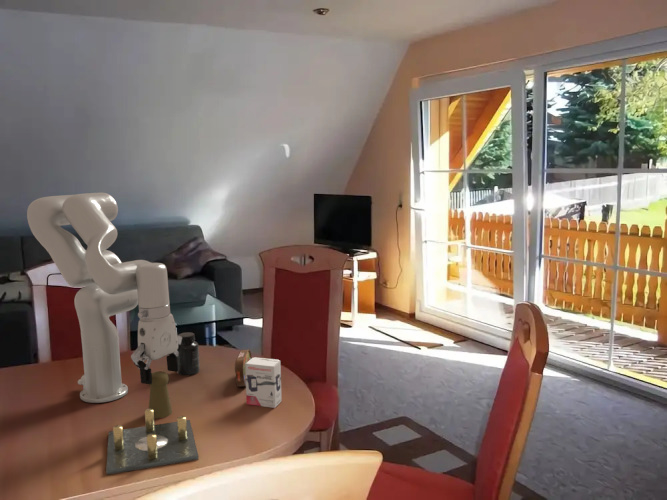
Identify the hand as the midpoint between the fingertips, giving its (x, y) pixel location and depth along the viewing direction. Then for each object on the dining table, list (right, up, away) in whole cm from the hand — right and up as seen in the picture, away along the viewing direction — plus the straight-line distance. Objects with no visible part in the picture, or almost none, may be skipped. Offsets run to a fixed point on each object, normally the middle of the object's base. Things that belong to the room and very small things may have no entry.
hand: (160, 377), depth 155 cm
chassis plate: (+3, -13, -16) cm, 21 cm away
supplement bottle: (0, -5, +32) cm, 32 cm away
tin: (+18, -6, +24) cm, 31 cm away
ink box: (+26, -9, +8) cm, 28 cm away
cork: (-1, -10, +2) cm, 10 cm away
